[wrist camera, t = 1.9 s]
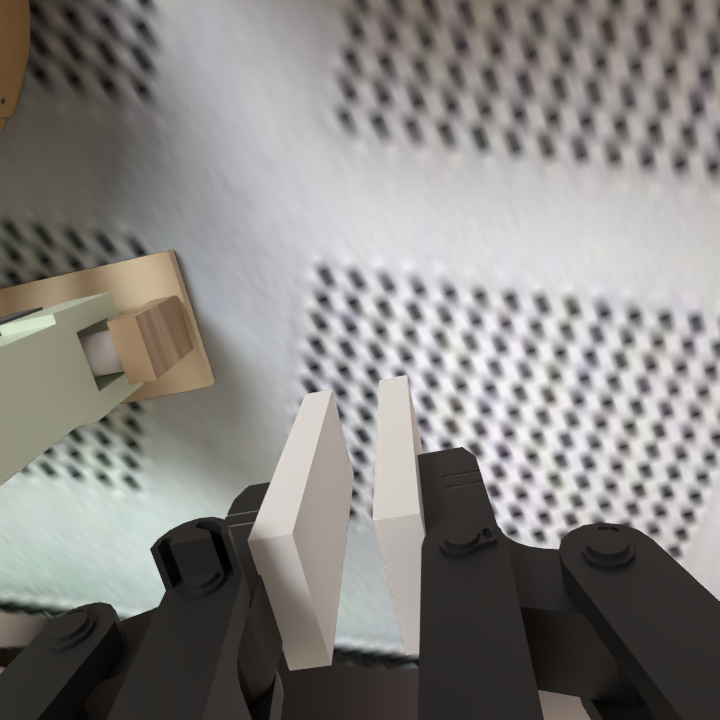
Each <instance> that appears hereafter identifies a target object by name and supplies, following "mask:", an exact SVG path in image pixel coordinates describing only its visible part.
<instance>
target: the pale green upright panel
mask: <svg viewBox="0 0 720 720" xmlns="http://www.w3.org/2000/svg"><path fill="white" fill-rule="evenodd" d="M117 317H119V313H118V310H117V308H116V305H115V302H114V299H113V296H112V294H111V292H107V293H102V294H98V295H93V296H89V297H84V298H80V299H75V300H71V301H66V302H63V303H60V304H57V305H55V306H52V307H49V308H46V309H44V310H41V311H38V312H35V313H33V314H30V315H27V316H24V317H22V318H19V319H16V320H13V321H11V322H8V323H5V324H2V325H0V332H1V335H2V336H0V486H1V485H2V484H4V483H5V482H6V481H7V480H9V479H10V478H11V477H13V476H14V475H15V474H16V473H18V472H19V471H20V470H22V469H23V468H24V467H25V466H27V465H28V464H29V463H31V462H32V461H33V460H34V459H36V458H37V457H38V456H40V455H41V454H42V453H43V452H45V451H46V450H47V449H49V448H50V447H51V446H52V445H54V444H55V443H56V442H58V441H59V440H60V439H61V438H63V437H64V436H65V435H67V434H68V433H69V432H71V431H72V430H73V429H74V428H76V427H79V426H84V425H90V424H95V423H96V422H98V421H99V420H100V419H101V418H103V417H104V416H105V415H106V414H108V413H109V412H110V411H111V410H112V409H114V408H115V407H116V406H117V405H119V404H120V403H121V402H122V401H123V400H125V399H126V398H127V397H128V396H130V395H131V394H132V393H133V392H135V391H136V390H137V389H138V388H139V387H141V386H142V385H143V383H138V384H133V385H129V382H128V380H127V377H126V374H125V371H121V372H116V373H111V374H106V375H102V376H97V377H93V375H92V372H91V369H90V367H89V364H88V362H87V359H86V356H85V354H84V351H83V349H82V346H81V343H80V341H79V338H78V337H79V336H83V335H88V334H93V333H97V332H102V331H107V330H109V327H108V325H107V322H109V321H111V320H113V319H115V318H117Z"/></svg>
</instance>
